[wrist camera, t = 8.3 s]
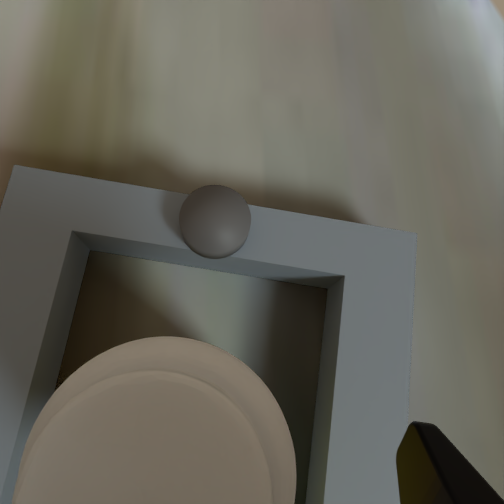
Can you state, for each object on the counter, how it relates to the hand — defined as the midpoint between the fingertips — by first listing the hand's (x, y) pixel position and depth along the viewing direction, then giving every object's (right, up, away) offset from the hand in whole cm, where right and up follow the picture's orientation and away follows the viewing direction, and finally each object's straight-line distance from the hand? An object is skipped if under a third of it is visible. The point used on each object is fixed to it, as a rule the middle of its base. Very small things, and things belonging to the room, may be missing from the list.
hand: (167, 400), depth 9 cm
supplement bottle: (-1, -4, +8) cm, 9 cm away
